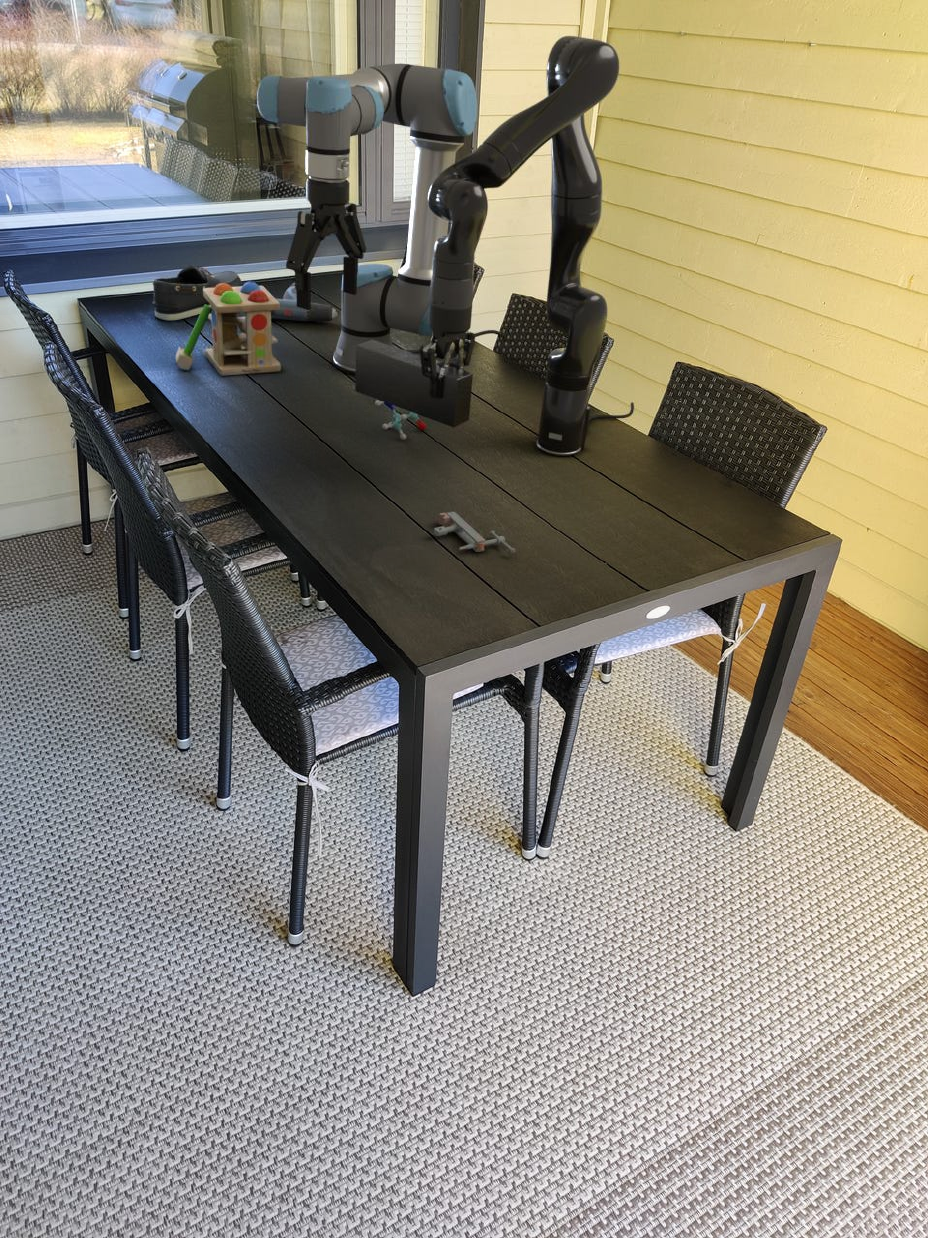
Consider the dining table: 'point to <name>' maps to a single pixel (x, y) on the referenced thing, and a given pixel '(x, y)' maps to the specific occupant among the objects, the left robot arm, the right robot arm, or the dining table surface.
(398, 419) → the molecular model
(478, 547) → the clamp
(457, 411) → the bar
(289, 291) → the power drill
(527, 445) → the dining table surface
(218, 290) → the pounding bench toy
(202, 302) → the boat shoe
